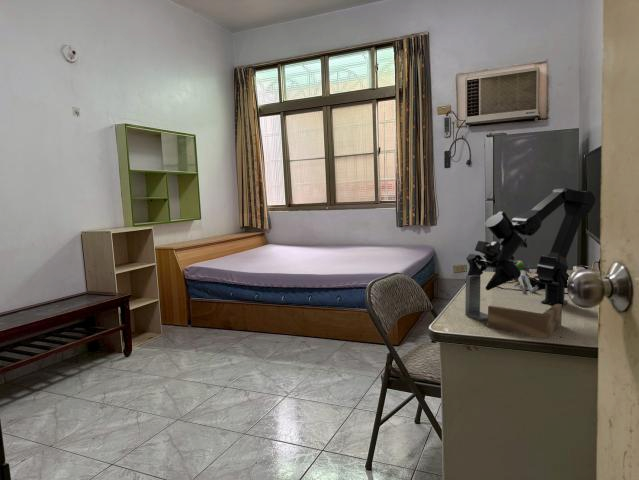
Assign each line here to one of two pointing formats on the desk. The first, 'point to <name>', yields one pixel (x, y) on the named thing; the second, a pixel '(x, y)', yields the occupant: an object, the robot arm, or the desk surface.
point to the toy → (525, 276)
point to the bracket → (474, 299)
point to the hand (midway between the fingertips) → (476, 286)
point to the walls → (525, 320)
